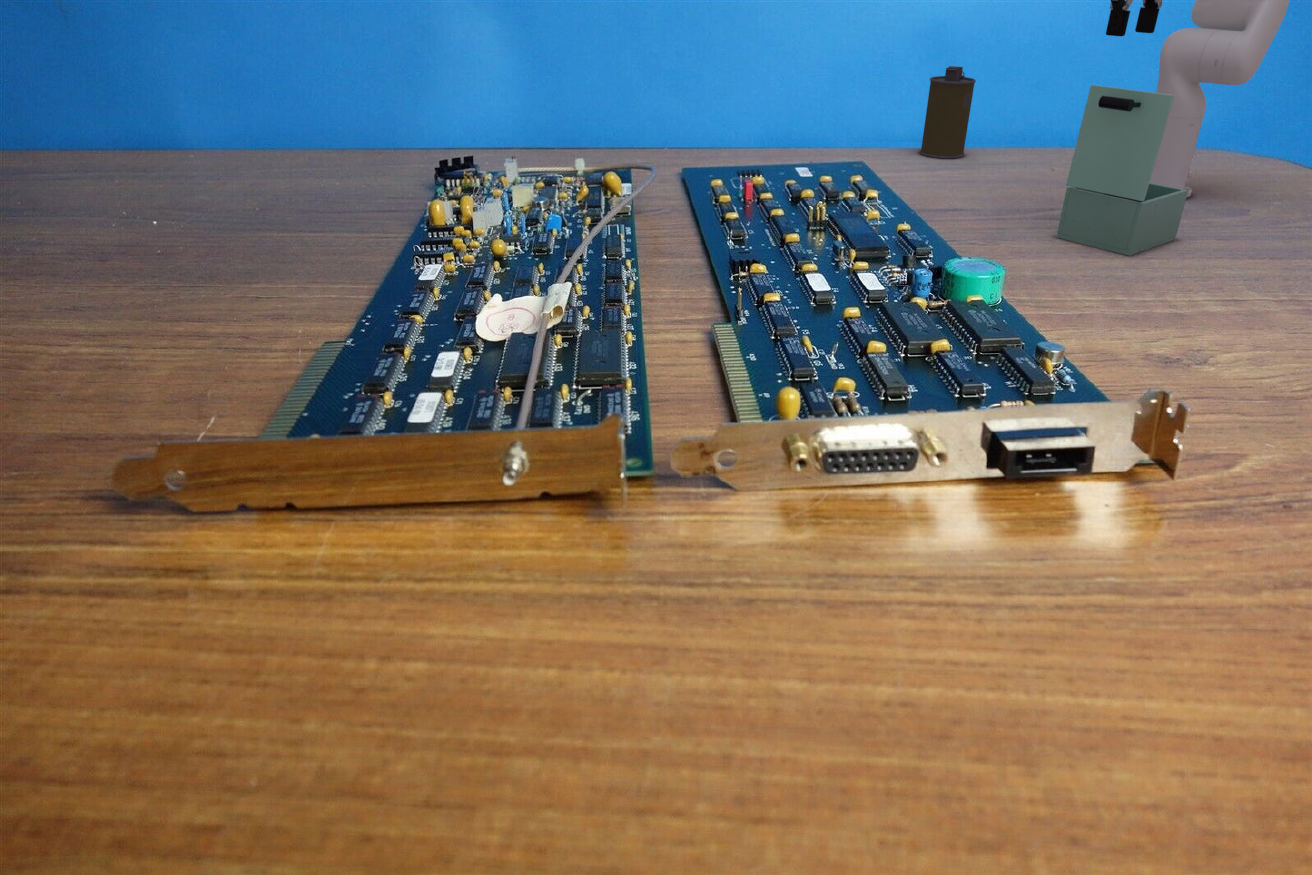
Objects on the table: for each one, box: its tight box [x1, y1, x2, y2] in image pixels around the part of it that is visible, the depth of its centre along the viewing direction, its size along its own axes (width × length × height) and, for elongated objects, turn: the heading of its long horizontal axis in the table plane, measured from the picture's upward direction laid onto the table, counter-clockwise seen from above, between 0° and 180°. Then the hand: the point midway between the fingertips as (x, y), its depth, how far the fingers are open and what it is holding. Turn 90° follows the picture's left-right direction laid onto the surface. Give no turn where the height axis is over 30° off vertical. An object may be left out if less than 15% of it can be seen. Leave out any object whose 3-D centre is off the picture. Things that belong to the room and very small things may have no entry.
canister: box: [919, 65, 976, 160], centre depth 224 cm, size 11×10×20 cm
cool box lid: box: [1065, 84, 1174, 201], centre depth 152 cm, size 16×14×5 cm
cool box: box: [1056, 183, 1189, 257], centre depth 164 cm, size 16×14×9 cm
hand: (1129, 34), depth 162 cm, fingers open, 9 cm apart
